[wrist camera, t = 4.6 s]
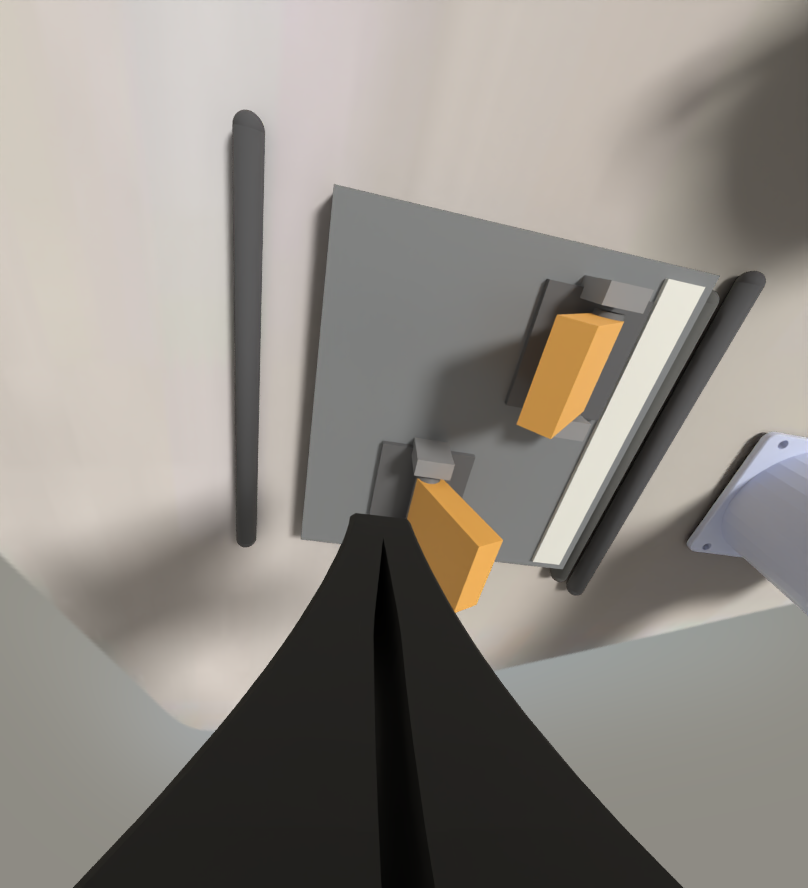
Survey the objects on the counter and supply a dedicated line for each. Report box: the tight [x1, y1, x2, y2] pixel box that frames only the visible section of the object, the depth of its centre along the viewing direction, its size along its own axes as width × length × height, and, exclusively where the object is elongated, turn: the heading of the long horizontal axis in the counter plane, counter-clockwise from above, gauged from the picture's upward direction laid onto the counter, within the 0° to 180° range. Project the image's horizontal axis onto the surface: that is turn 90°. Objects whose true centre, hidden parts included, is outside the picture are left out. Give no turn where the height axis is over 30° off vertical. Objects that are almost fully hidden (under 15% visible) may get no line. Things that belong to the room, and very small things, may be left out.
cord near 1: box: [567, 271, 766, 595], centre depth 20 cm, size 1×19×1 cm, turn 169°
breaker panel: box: [301, 184, 720, 569], centre depth 17 cm, size 15×16×3 cm
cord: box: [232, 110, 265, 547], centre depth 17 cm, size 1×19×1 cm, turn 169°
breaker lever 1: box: [405, 476, 503, 613], centre depth 17 cm, size 1×4×5 cm, turn 170°
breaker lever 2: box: [516, 308, 625, 439], centre depth 14 cm, size 1×4×5 cm
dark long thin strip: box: [550, 290, 719, 582], centre depth 20 cm, size 1×17×1 cm, turn 169°
